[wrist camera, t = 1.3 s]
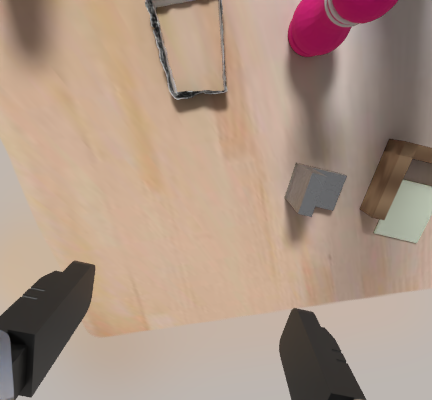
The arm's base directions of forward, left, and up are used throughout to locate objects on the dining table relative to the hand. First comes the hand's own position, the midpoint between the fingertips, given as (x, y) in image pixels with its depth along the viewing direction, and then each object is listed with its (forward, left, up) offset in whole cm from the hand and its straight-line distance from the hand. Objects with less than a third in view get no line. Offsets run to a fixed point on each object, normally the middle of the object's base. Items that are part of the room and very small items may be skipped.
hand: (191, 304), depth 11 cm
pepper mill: (-21, +9, -35) cm, 42 cm away
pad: (+1, +34, -35) cm, 49 cm away
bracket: (0, +17, -35) cm, 39 cm away
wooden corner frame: (-4, +33, -35) cm, 49 cm away
